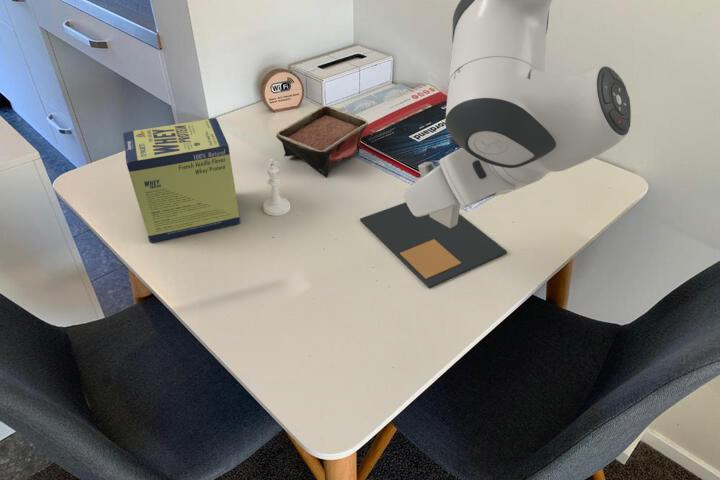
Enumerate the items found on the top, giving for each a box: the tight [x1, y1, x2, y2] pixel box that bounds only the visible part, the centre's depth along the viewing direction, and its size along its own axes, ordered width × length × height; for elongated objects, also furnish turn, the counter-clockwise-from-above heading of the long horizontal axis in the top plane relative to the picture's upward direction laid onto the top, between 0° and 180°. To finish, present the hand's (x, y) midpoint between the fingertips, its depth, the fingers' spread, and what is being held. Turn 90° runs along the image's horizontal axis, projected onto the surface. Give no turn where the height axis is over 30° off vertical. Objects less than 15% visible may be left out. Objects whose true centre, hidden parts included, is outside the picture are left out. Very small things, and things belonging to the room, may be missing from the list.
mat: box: [359, 201, 508, 289], centre depth 89 cm, size 20×16×1 cm
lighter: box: [418, 161, 461, 228], centre depth 76 cm, size 7×2×8 cm, turn 44°
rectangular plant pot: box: [275, 105, 369, 178], centre depth 107 cm, size 14×18×10 cm
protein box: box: [122, 117, 241, 244], centre depth 88 cm, size 10×16×16 cm
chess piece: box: [262, 158, 291, 217], centre depth 92 cm, size 5×5×10 cm
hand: (435, 189), depth 76 cm, fingers closed on lighter, 2 cm apart
